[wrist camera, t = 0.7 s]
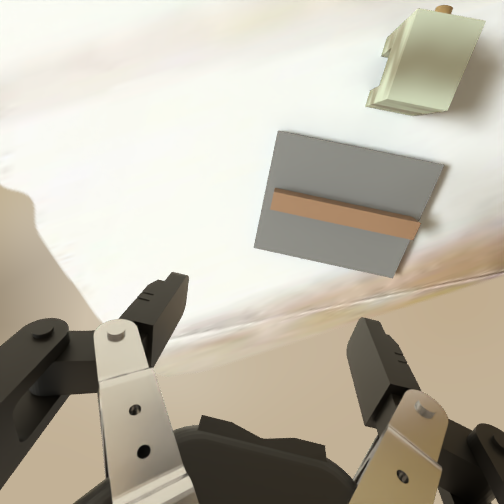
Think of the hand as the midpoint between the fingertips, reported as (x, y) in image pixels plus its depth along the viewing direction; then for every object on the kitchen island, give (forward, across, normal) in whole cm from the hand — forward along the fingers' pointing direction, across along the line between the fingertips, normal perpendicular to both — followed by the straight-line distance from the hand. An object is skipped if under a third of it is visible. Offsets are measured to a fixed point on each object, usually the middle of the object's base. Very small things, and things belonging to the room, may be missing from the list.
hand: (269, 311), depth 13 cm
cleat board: (+24, -7, 0) cm, 25 cm away
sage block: (+24, -9, -14) cm, 29 cm away
